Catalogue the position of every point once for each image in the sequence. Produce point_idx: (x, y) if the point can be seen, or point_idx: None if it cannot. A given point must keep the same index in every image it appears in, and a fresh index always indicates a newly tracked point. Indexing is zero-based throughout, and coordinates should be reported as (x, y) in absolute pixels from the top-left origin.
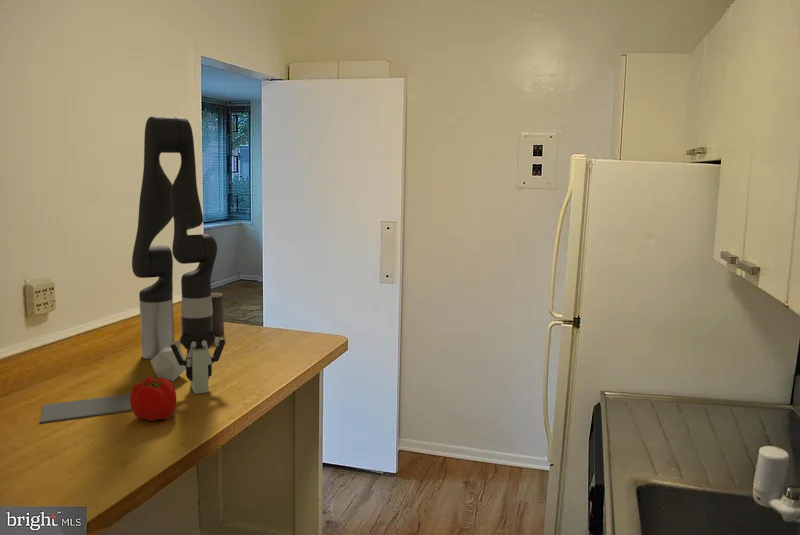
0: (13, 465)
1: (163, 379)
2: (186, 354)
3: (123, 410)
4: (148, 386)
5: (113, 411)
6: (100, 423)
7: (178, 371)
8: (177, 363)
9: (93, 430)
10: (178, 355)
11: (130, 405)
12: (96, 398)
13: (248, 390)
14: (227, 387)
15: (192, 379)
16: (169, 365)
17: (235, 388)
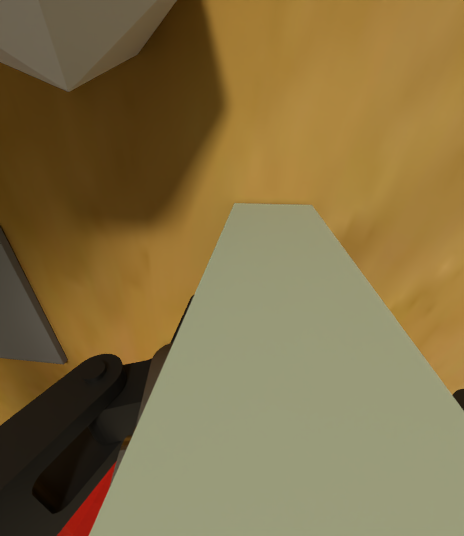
0: None
1: None
2: (126, 439)
3: (27, 360)
4: None
5: (2, 357)
6: (7, 388)
7: (141, 31)
8: (82, 31)
9: (11, 409)
10: (40, 527)
11: (31, 338)
12: None
13: (450, 360)
14: (394, 297)
15: None
16: (9, 63)
17: (418, 322)
